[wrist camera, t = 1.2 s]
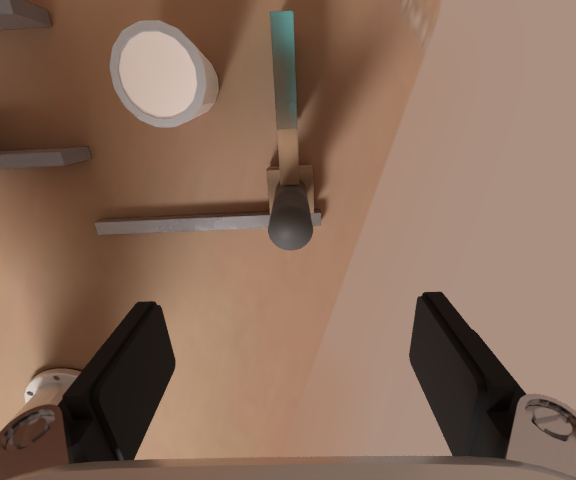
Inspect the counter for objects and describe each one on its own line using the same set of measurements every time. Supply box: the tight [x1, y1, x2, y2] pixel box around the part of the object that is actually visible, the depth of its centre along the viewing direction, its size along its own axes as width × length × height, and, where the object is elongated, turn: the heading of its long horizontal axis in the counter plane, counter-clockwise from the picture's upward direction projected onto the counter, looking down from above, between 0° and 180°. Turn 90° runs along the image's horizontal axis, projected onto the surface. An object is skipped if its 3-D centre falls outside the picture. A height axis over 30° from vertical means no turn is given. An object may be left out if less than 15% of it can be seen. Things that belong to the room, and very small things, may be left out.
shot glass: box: [109, 20, 219, 128], centre depth 25 cm, size 7×7×7 cm
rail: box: [94, 209, 321, 235], centre depth 33 cm, size 1×24×1 cm, turn 93°
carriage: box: [267, 11, 314, 250], centre depth 24 cm, size 16×4×12 cm, turn 3°
